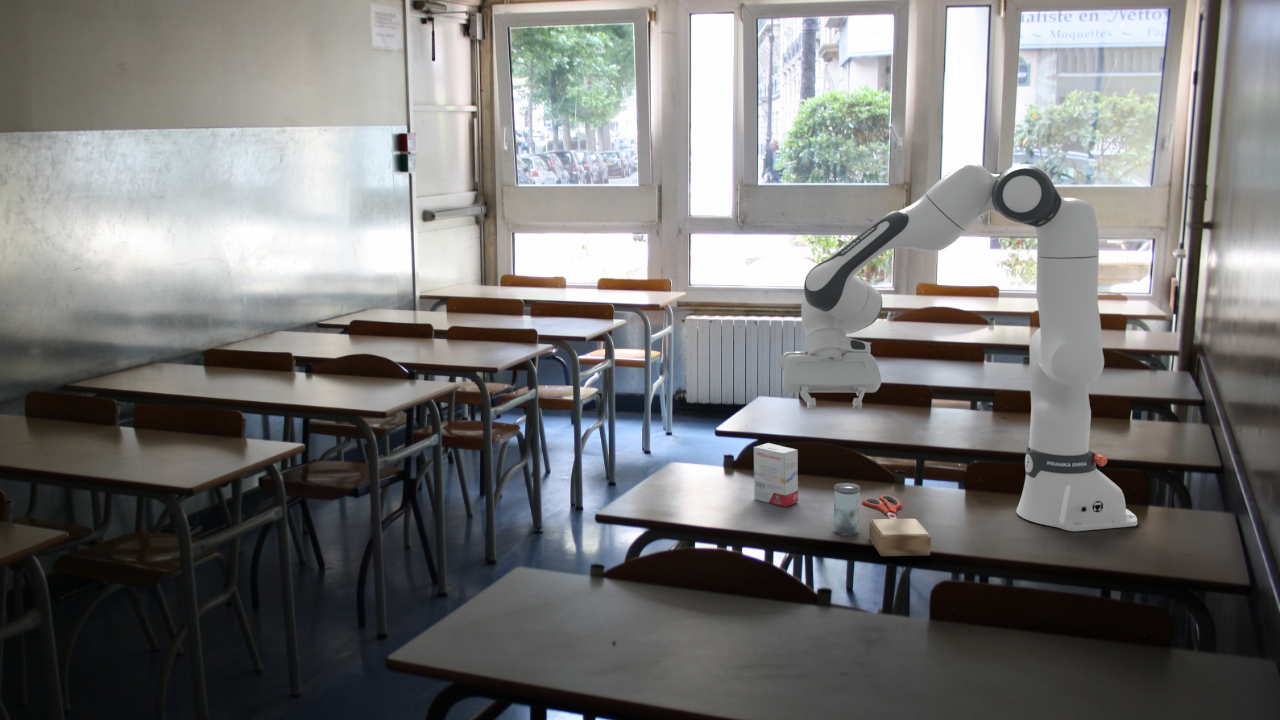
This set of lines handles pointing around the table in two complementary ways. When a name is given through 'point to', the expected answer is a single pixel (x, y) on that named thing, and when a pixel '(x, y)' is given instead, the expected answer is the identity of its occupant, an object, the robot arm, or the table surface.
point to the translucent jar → (846, 508)
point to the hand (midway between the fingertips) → (835, 407)
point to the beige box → (899, 537)
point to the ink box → (776, 474)
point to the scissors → (884, 505)
